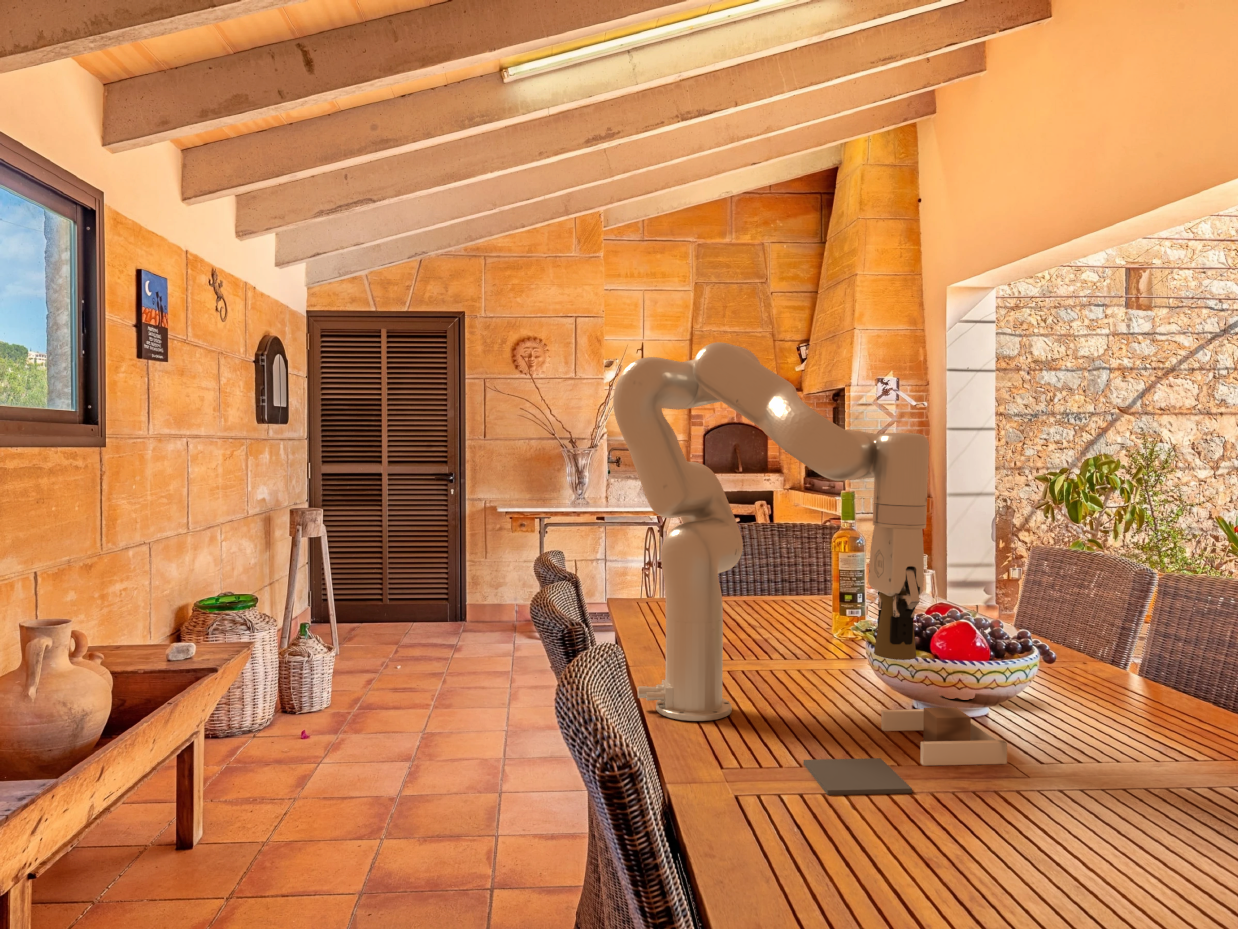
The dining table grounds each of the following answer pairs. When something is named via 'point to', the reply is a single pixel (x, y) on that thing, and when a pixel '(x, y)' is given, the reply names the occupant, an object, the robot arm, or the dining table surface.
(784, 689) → the dining table surface
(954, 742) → the tray
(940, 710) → the walnut block
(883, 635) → the cork
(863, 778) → the mat
